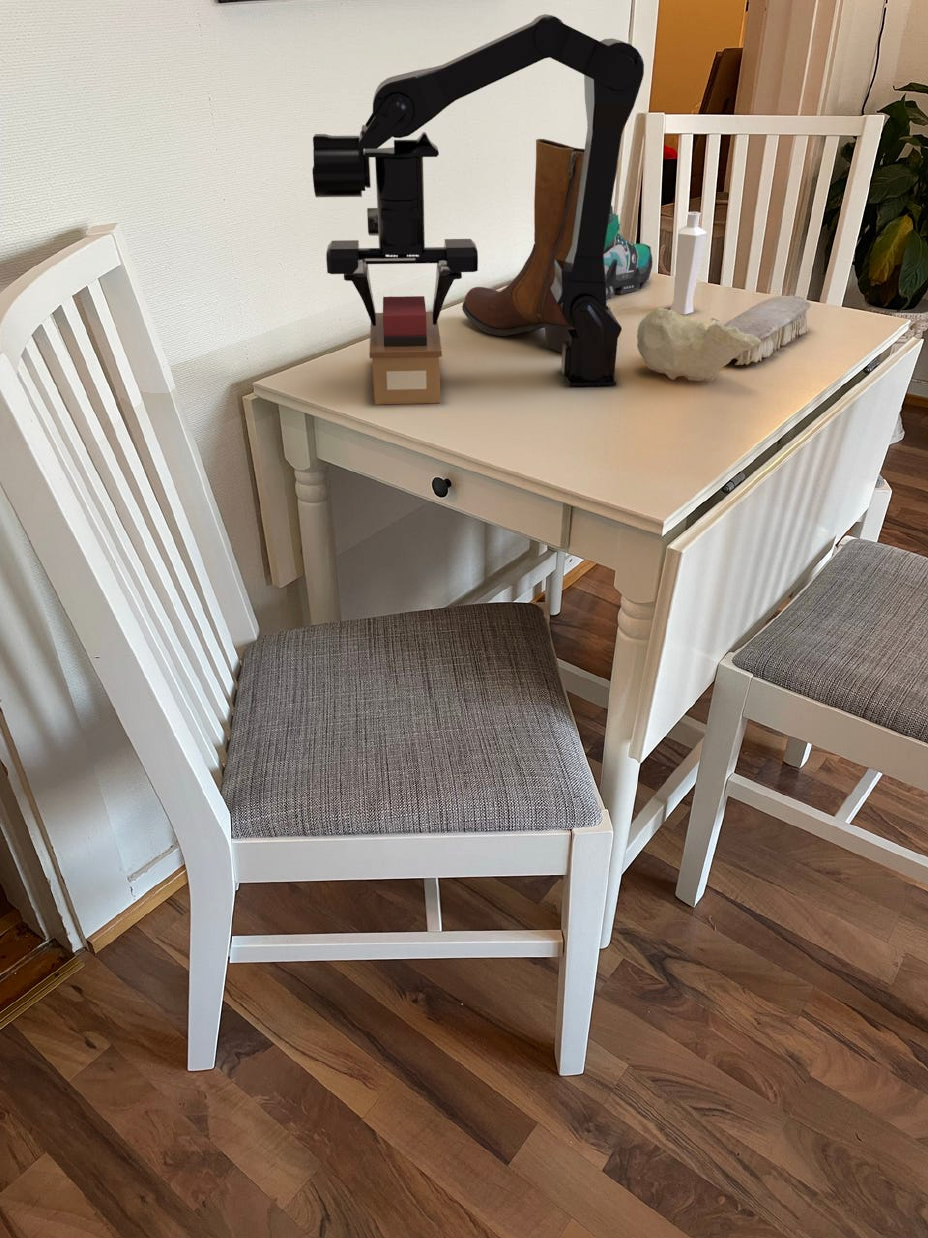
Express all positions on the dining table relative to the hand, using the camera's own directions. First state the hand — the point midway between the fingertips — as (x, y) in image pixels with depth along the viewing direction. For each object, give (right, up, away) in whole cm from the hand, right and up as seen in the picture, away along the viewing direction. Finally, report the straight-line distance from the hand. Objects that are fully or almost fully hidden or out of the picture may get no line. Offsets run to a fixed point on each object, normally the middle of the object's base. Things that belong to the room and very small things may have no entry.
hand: (404, 324), depth 126 cm
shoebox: (0, -6, +4) cm, 8 cm away
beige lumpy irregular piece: (+40, -5, +7) cm, 41 cm away
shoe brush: (+52, +2, +17) cm, 55 cm away
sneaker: (+32, +19, +41) cm, 55 cm away
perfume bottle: (+43, +11, +31) cm, 54 cm away
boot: (+18, +4, +20) cm, 27 cm away
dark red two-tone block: (0, -1, 0) cm, 1 cm away
